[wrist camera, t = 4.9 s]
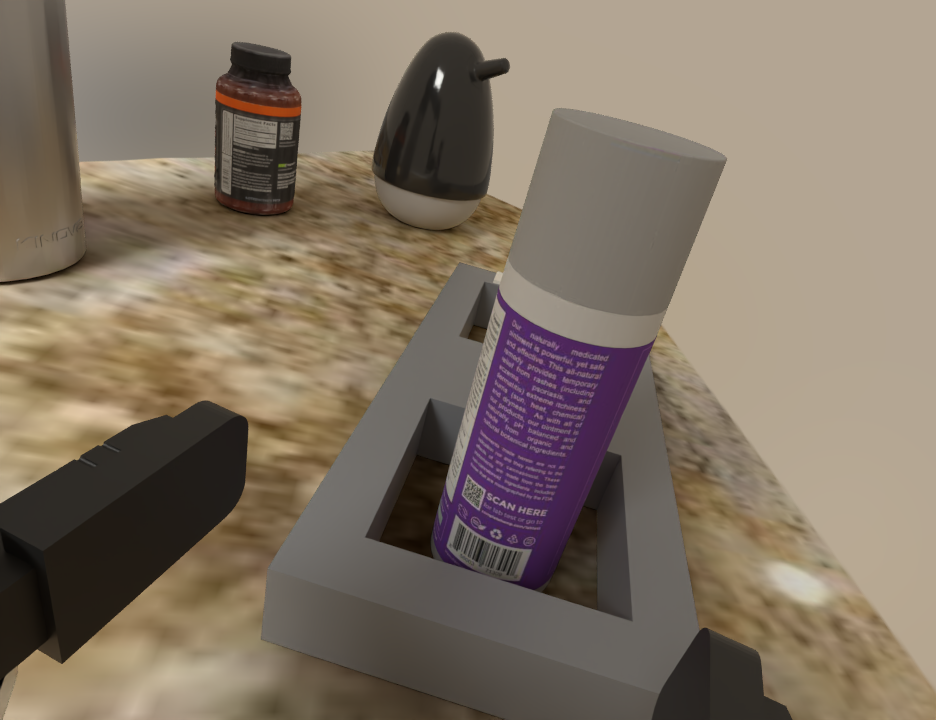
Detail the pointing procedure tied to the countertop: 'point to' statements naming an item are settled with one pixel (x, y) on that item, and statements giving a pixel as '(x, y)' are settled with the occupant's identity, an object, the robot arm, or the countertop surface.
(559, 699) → the socket board
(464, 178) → the pump dispenser
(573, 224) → the container
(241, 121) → the supplement bottle
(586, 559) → the countertop surface
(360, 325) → the countertop surface
